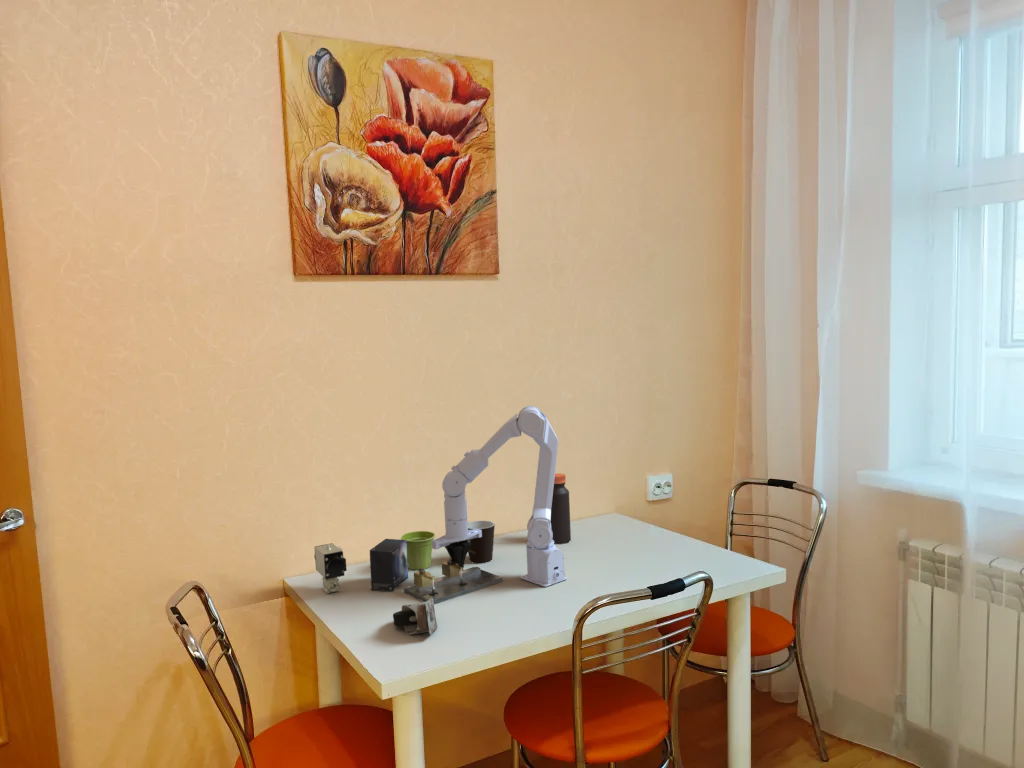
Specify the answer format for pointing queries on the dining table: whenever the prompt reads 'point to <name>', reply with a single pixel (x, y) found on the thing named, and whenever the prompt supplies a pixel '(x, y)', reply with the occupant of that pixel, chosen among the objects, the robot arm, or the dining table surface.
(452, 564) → the sliding leg
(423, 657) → the dining table surface
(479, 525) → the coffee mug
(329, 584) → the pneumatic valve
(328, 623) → the dining table surface
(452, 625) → the dining table surface
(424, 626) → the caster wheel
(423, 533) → the plant pot
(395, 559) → the small box
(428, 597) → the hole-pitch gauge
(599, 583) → the dining table surface
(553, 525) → the bottle
